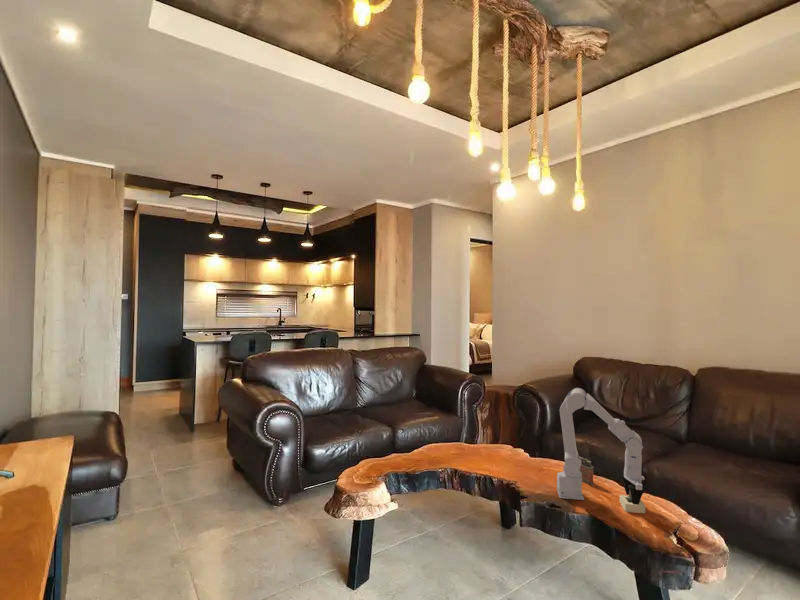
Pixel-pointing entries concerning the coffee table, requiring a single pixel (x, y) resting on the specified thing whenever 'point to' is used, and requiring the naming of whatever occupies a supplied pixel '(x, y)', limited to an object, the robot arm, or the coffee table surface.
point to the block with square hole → (631, 505)
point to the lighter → (586, 471)
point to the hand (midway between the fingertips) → (632, 499)
